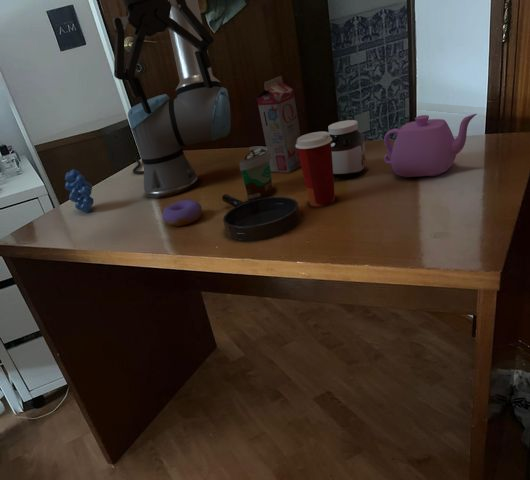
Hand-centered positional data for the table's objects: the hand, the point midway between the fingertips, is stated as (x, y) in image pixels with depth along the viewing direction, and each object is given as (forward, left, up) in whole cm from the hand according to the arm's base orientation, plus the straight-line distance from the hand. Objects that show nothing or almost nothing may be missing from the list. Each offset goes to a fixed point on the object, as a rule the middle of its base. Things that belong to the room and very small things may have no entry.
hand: (179, 99), depth 106 cm
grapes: (-43, -20, -26) cm, 54 cm away
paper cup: (+12, +22, -26) cm, 36 cm away
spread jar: (0, +36, -26) cm, 44 cm away
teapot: (+18, +47, -26) cm, 57 cm away
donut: (-8, -4, -26) cm, 28 cm away
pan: (+12, +7, -26) cm, 30 cm away
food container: (-6, +17, -26) cm, 32 cm away
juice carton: (-19, +31, -26) cm, 45 cm away
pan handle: (-1, +7, -26) cm, 27 cm away
